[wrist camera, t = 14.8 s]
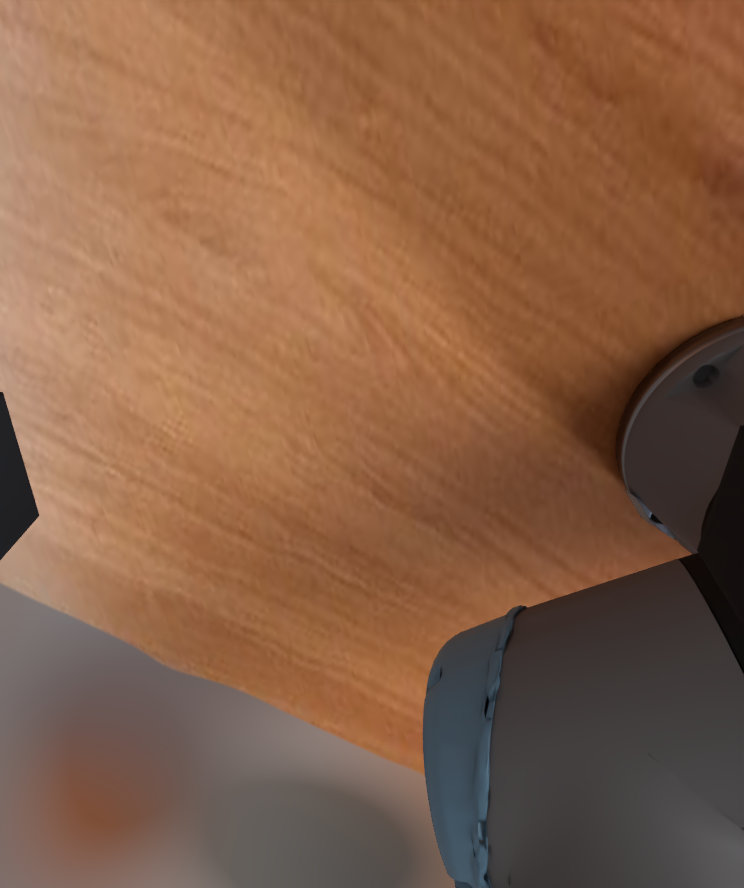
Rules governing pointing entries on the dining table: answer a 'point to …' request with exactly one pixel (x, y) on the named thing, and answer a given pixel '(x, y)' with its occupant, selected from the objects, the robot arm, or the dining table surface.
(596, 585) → the robot arm
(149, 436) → the dining table surface
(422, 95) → the dining table surface
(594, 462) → the dining table surface
